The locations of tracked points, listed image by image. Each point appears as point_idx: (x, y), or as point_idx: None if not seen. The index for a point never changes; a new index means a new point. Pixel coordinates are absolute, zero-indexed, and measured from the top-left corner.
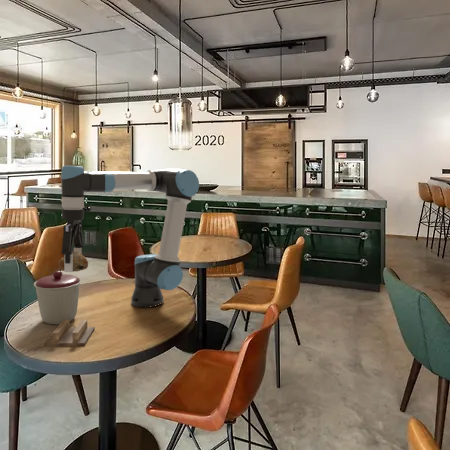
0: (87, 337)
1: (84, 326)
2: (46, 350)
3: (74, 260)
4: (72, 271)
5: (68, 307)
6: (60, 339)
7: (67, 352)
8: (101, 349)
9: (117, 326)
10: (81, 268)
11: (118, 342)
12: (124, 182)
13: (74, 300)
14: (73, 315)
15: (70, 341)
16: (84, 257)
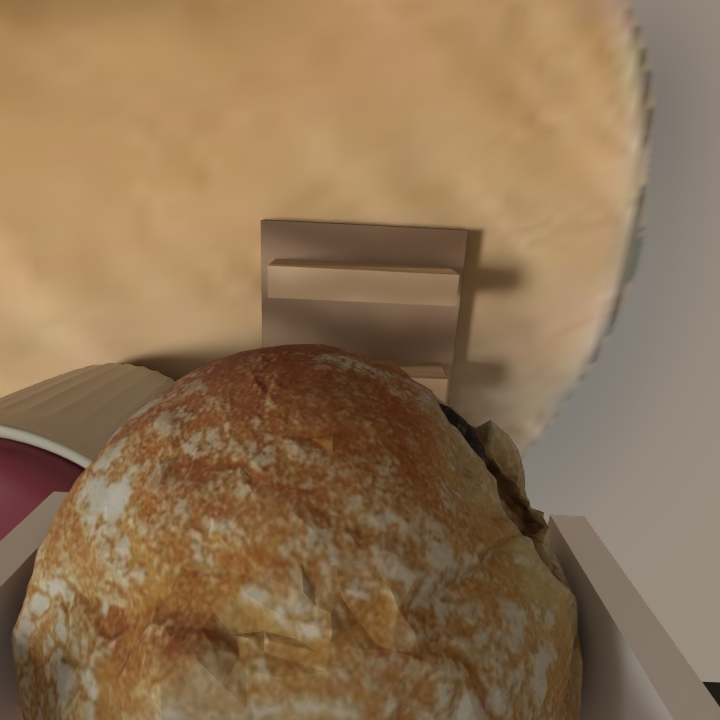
0: (401, 230)
1: (329, 266)
2: (491, 392)
3: (562, 656)
4: (574, 519)
5: None
6: (412, 360)
7: (527, 295)
8: (522, 126)
9: (215, 80)
10: (458, 421)
11: (447, 36)
12: None
13: (106, 398)
14: (145, 370)
15: (441, 307)
16: (300, 506)
